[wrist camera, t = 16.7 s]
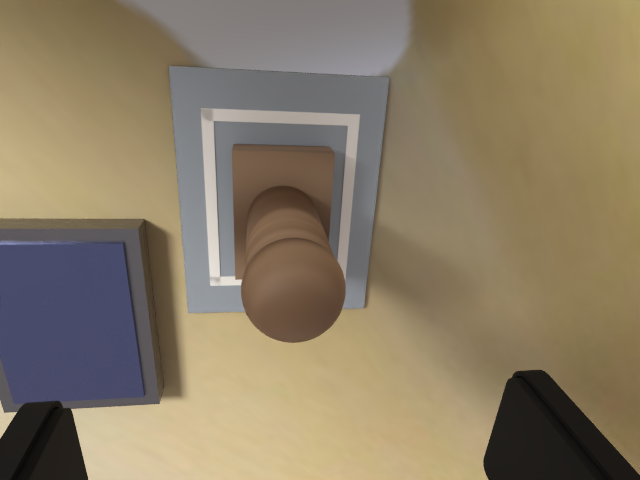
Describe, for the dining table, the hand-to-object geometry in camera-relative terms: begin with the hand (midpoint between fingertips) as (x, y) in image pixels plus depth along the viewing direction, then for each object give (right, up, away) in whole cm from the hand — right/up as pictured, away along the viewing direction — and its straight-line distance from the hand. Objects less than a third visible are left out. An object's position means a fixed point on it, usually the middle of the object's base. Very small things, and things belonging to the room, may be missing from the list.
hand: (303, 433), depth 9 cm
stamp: (-2, +6, +15) cm, 16 cm away
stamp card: (-2, +6, +15) cm, 17 cm away
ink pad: (-14, 0, +16) cm, 21 cm away
